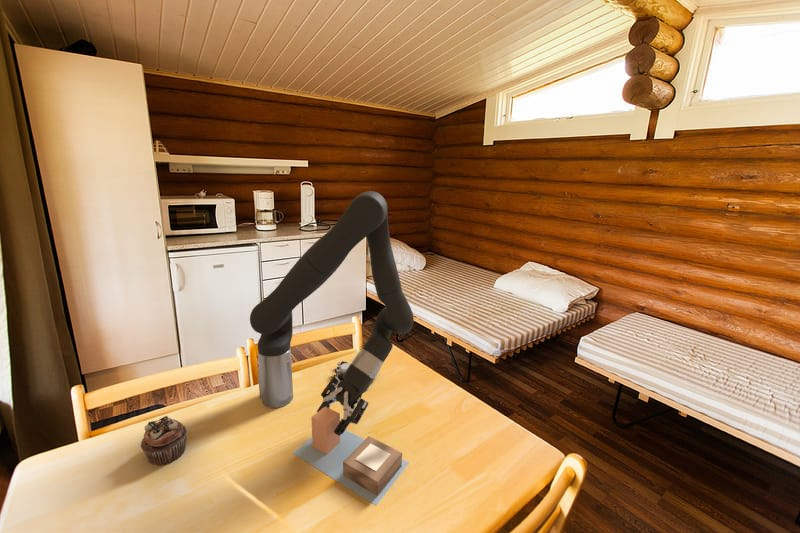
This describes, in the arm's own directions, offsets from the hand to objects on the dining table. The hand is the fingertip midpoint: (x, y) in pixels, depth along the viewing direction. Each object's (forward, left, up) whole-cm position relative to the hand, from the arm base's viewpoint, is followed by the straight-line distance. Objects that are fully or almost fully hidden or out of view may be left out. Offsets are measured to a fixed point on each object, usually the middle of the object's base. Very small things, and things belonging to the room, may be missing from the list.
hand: (327, 425), depth 93 cm
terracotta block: (0, 0, -6) cm, 6 cm away
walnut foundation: (+15, 0, -6) cm, 16 cm away
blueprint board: (+8, 0, -6) cm, 10 cm away
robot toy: (-14, +30, -7) cm, 34 cm away
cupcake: (-31, -24, -7) cm, 40 cm away
